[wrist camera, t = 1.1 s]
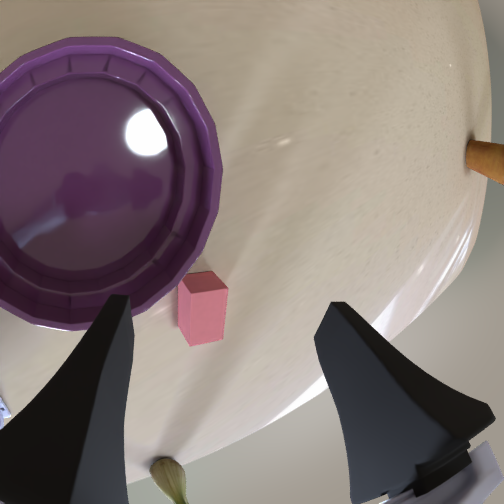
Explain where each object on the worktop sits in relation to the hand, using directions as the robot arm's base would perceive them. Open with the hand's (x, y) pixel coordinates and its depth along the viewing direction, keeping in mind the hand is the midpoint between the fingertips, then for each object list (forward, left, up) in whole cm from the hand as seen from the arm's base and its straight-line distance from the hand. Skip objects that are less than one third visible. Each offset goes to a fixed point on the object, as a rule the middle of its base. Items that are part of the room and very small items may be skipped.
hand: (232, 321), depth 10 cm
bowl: (+3, +5, -13) cm, 14 cm away
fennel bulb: (-35, +1, -13) cm, 37 cm away
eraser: (-7, -4, -13) cm, 15 cm away
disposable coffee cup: (+15, -61, -13) cm, 64 cm away
